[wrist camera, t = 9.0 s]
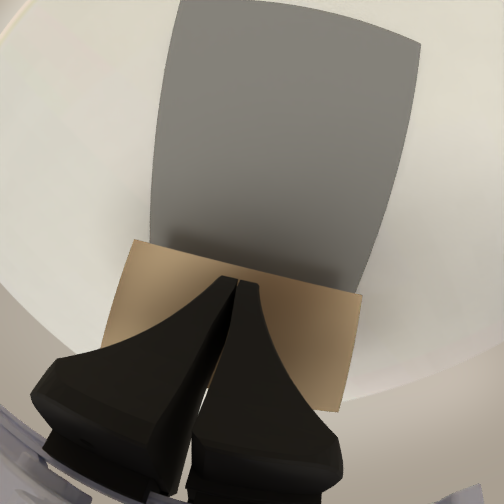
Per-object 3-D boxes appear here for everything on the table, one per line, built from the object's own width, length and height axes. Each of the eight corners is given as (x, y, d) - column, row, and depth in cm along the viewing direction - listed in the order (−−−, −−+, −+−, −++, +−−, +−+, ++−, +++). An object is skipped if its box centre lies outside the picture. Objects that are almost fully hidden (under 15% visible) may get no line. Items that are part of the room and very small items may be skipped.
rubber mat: (419, 44, 9) (420, 43, 9) (317, 368, 18) (318, 370, 18) (182, 1, 10) (180, 0, 9) (154, 330, 19) (153, 332, 19)
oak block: (338, 412, 10) (309, 394, 14) (362, 295, 11) (327, 310, 16) (100, 349, 10) (139, 350, 15) (134, 239, 12) (162, 269, 16)
